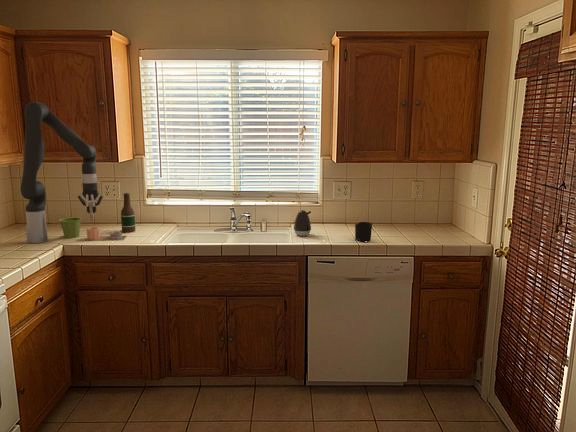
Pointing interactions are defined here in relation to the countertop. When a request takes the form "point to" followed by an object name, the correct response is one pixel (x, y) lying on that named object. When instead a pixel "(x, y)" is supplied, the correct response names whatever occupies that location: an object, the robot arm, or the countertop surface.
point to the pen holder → (363, 231)
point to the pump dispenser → (302, 223)
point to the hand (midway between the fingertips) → (91, 212)
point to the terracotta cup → (93, 233)
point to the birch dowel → (91, 211)
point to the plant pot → (71, 226)
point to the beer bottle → (127, 216)
